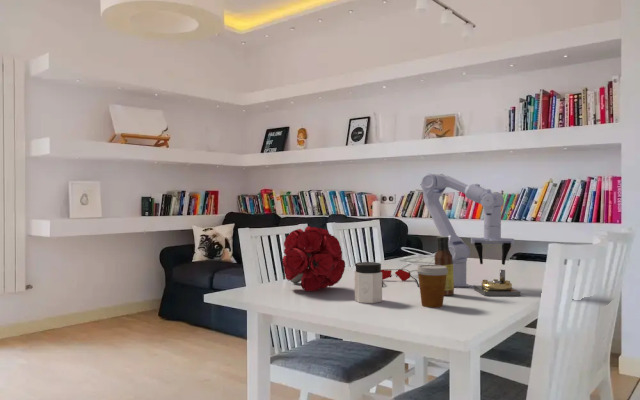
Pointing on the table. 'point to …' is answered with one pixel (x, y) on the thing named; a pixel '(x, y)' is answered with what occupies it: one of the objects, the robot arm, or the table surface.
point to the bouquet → (313, 258)
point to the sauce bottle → (445, 263)
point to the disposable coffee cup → (432, 284)
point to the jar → (368, 282)
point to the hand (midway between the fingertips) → (492, 264)
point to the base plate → (497, 292)
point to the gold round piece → (497, 283)
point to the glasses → (400, 273)
